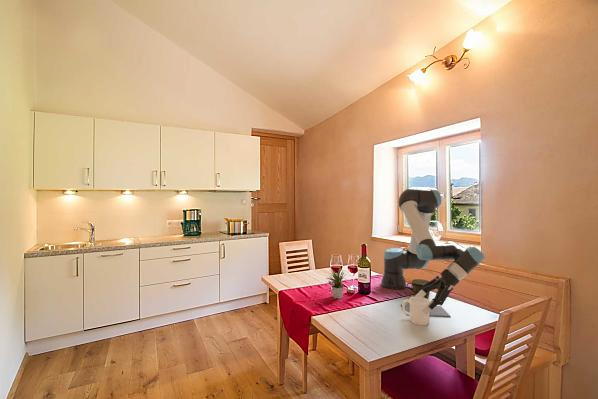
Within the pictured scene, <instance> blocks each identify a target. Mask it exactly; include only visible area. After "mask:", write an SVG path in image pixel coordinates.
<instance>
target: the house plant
mask: <svg viewBox="0 0 598 399" xmlns="http://www.w3.org/2000/svg"><path fill="white" fill-rule="evenodd" d="M328 270H329V271H330V272H331V273H329V272H328V275H329V276H328V277H326V278H325V279H326V280H328V281H327V283H328V284H332V285H331V288H330V289H331V293H332V297H334V298H333V299H336V298H338V299H342V298H343V294H344V289H345V288H344V287H345V286H344V284H343V282H344V280H343V278H344V275H345V274H344V273H345V271H344V270H342V268H341V267H340V268H339V269H338V270H337V273H336V272H335V271H334V270H332V269H330V268H328ZM324 273H326V274H327V272H324ZM345 281H348V279H345Z"/></svg>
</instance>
